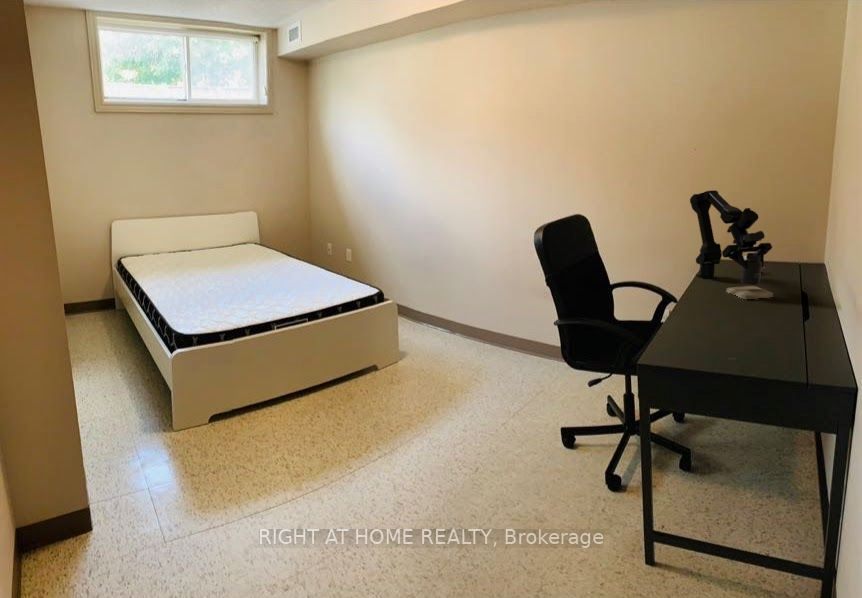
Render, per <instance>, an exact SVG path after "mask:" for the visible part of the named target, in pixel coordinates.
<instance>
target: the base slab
mask: <svg viewBox="0 0 862 598" xmlns="http://www.w3.org/2000/svg"><path fill="white" fill-rule="evenodd" d="M727 292H728V293H727ZM726 293H727V294H729V293H731V294H733V295H732V296H734V295H736V296H738V297H737V298H739V297H740V298H739V299H741V298H743V299H745V300H744V301H747V300H746V299H755V300H759V299H758V298H767V299H770V298H769V297H773V296H774V293H773V292H771V291H768V290H766V289H764V288H760V287H758V286H755V285H747V286H746V285H744V286H734V287H733V286H732V287H727V288H726ZM731 294H730V295H731ZM736 296H735V297H736ZM743 299H742V300H743Z"/></svg>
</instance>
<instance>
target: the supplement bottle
mask: <svg viewBox="0 0 862 598" xmlns="http://www.w3.org/2000/svg"><path fill="white" fill-rule="evenodd" d="M746 253H747V254H746V256H747V257H746V258H747V259H746V260H745V262H746V265H747V268H746V269H744V268H743V267H742V268H741V277H740V282H741V283H742V284H745V285H749V286H755V285H759V284H760V281H761V274H762V273H761V270H762V262H761V261H760V260H759V259H760V254H757V253H755V252H746Z"/></svg>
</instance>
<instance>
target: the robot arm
mask: <svg viewBox="0 0 862 598" xmlns="http://www.w3.org/2000/svg"><path fill="white" fill-rule="evenodd" d="M689 203H690V205H691V209H692V210H693V211H694V213H695V214H696V215H697V220H698V226H699V232H700V237H701V243H702V244H701V247H700V249H699V254H698V256H697V257H695V263H696V264H698V265H699V272H698V274H695V275H696V277H698V278H701V279H704V280H705V279H706V280H707V279H714V278H715V279H716V278H717V275H715V270H716V269H715V268H716V267H715V265H720V262H721V259H722V257H723V258H728V259H730V260H732V261H733V262H735V263H736V264H738V265H739V266H741V267H742V268H744V269H746V268H747V265H746V262H745V260H744V257H743V256H744V253H757V254H760V259H759V260H760V261H761V262H762V268H763V267H765V266H764V264H765V263H764V262H765V259H764V257H765V255H767V253H769V252H770V251H771V249H773V245H772V243H771V242H760V241H762V240H763V239H765V233H764V231H763V230H759V231H758V230H757V231H756V232H750V233H748V230H749V229H750V228H751V227H752V226H753V225H754V224H755V223H756V222H757V221H758V220H759V214H758V213H757V212H756V211H754V210H752V209H751V208H750V207H747V208H746V207H745V208H743V210H742V209H740V208H738V207H736V206H733V205H731V204H729V202H727V200H726V199H724V198H723V196H722V195H720V194H719V191H718V190H706V191H704V192H700V193H694V194H693V195H692V196H690V198H689ZM712 206H713V207H714V209H715V210H717V211H718V213H719V214H720V215H719V216H720V219H721V221H722V223H724V224H731V225H729V226H728V228H727V230H726V232H727V234H728V233H731V235H732V237H733V241H732V244H728V245H727V246H726V247H725V248H724V249H723V250H722V248H721V247H722V246H721V244H720V243H717V242H716V241H715V237H714V232H713V227H712V222H711V217H710V209H711V207H712ZM757 242H759V244H758V245H757V246H756V244H757ZM762 268H761V269H762Z"/></svg>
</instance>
